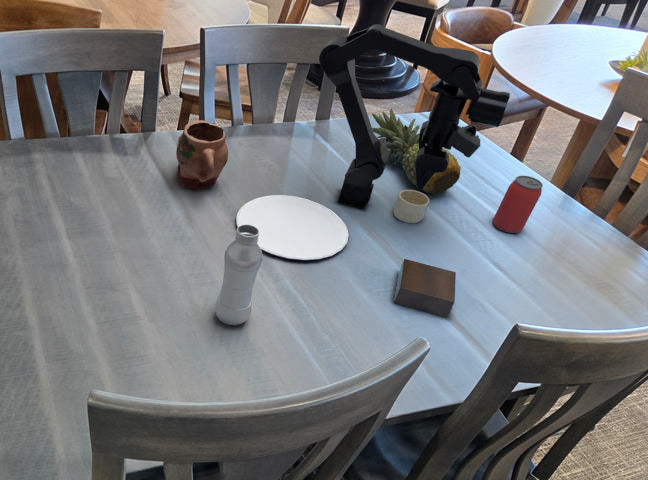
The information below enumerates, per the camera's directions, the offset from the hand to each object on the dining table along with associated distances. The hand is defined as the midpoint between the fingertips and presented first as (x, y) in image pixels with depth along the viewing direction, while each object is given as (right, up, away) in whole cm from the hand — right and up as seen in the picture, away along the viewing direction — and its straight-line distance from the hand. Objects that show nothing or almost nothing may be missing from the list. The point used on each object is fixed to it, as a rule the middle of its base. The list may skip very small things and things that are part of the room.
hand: (420, 179), depth 142 cm
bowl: (0, -8, +6) cm, 10 cm away
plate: (-29, -11, 0) cm, 32 cm away
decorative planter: (-49, +1, +13) cm, 51 cm away
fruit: (+6, +6, +24) cm, 25 cm away
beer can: (+22, -10, +5) cm, 25 cm away
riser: (-7, -26, -16) cm, 31 cm away
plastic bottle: (-46, -30, -24) cm, 60 cm away
